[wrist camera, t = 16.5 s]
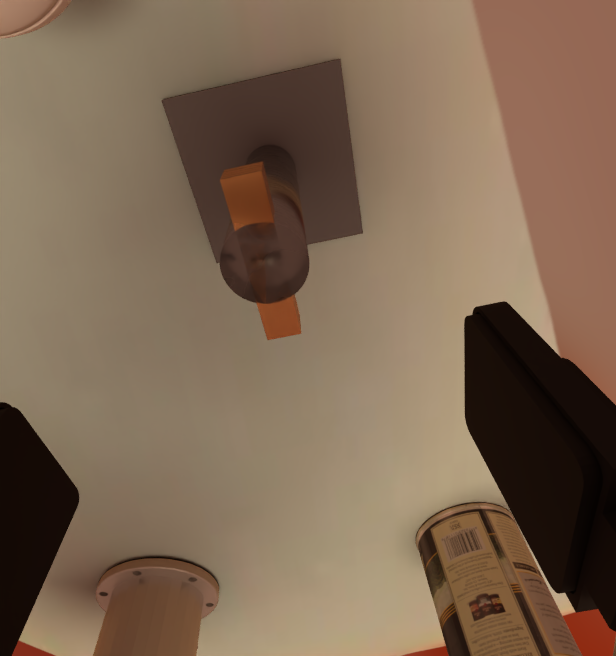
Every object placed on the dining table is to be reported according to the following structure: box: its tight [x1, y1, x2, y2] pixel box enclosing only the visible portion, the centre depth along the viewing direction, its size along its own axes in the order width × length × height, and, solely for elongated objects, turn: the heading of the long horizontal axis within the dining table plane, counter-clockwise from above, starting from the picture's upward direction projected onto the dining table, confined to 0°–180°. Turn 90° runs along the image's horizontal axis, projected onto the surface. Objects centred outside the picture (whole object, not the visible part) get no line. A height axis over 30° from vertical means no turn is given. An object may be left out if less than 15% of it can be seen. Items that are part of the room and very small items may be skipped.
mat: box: [162, 59, 363, 263], centre depth 24 cm, size 9×9×1 cm
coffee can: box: [416, 503, 582, 656], centre depth 39 cm, size 10×10×14 cm
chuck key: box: [220, 145, 309, 340], centre depth 19 cm, size 3×6×12 cm, turn 11°
